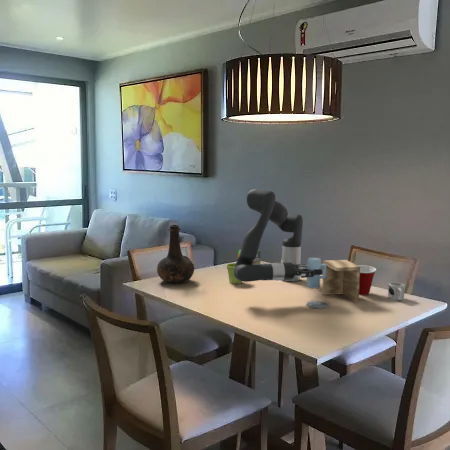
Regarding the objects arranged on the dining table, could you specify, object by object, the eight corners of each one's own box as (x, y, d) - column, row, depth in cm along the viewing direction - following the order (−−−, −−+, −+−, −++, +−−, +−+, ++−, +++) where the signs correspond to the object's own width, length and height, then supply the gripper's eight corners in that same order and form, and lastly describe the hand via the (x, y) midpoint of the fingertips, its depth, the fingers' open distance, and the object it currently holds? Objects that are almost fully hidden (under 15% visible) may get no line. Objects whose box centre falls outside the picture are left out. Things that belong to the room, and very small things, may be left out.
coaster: (308, 308, 203) (308, 307, 203) (305, 302, 212) (305, 300, 212) (330, 308, 203) (330, 307, 203) (326, 302, 212) (326, 300, 212)
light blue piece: (309, 288, 210) (310, 260, 208) (304, 284, 215) (305, 257, 213) (327, 287, 211) (328, 260, 209) (322, 284, 217) (323, 257, 215)
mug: (385, 296, 222) (386, 282, 221) (400, 296, 222) (401, 282, 221) (393, 303, 212) (394, 288, 211) (408, 303, 212) (409, 288, 211)
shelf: (334, 303, 211) (336, 267, 209) (322, 293, 225) (323, 260, 223) (358, 302, 213) (360, 266, 211) (344, 292, 227) (345, 259, 225)
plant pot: (238, 286, 236) (239, 268, 235) (222, 283, 241) (222, 265, 240) (248, 281, 244) (248, 264, 243) (232, 279, 249) (232, 262, 248)
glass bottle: (201, 282, 242) (201, 225, 238) (171, 288, 230) (171, 229, 226) (179, 275, 255) (179, 221, 251) (149, 281, 243) (149, 224, 239)
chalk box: (250, 268, 273) (250, 242, 271) (261, 271, 266) (261, 244, 264) (236, 270, 268) (237, 243, 266) (247, 274, 260) (248, 246, 258)
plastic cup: (347, 294, 224) (348, 268, 222) (353, 289, 233) (354, 264, 232) (372, 298, 219) (373, 271, 217) (377, 292, 228) (378, 266, 227)
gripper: (286, 266, 202) (326, 265, 205) (276, 258, 216) (313, 257, 219) (286, 284, 203) (325, 283, 206) (276, 275, 217) (313, 274, 220)
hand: (319, 270), depth 212 cm, fingers closed on light blue piece, 5 cm apart
